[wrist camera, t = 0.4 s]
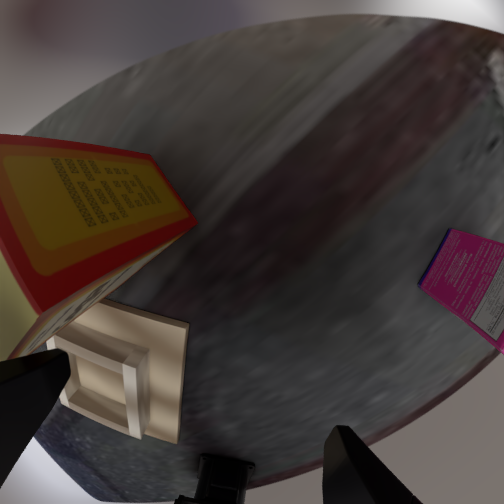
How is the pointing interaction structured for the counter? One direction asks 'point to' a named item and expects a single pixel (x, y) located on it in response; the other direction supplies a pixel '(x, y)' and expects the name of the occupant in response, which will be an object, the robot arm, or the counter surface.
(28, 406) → the robot arm
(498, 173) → the counter surface
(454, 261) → the supplement box
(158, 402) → the square peg hole base
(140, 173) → the baking soda box
